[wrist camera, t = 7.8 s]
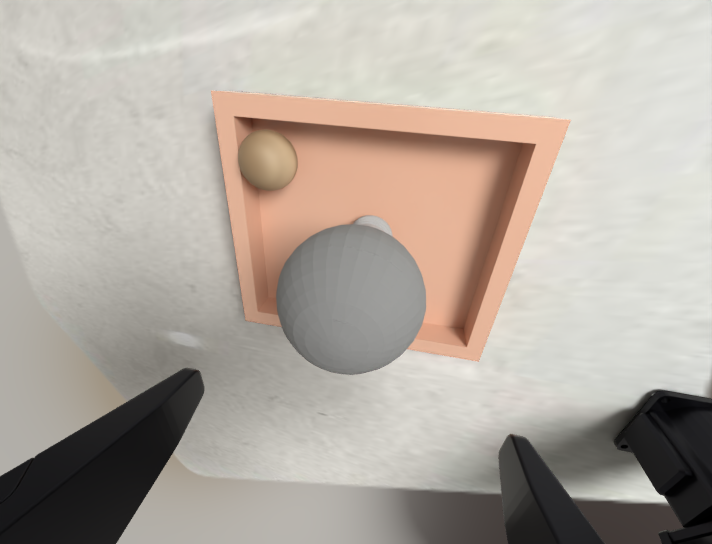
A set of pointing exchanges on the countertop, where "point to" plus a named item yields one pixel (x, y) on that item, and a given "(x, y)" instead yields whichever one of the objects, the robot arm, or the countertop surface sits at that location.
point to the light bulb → (351, 297)
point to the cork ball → (267, 160)
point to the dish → (393, 197)
